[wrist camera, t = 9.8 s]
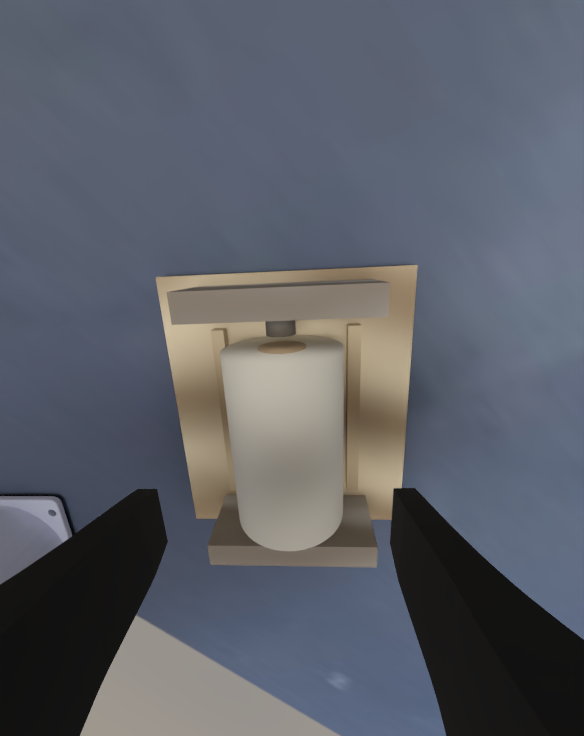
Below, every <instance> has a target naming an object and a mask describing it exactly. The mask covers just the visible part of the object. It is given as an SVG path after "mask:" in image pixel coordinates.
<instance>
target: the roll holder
mask: <svg viewBox="0 0 584 736" xmlns="http://www.w3.org/2000/svg"><path fill="white" fill-rule="evenodd" d="M417 266H418V265H403V266H382V267H361V268H339V269H318V270H297V271H275V272H254V273H233V274H212V275H190V276H169V277H156V283H157V289H158V295H159V301H160V307H161V312H162V318H163V324H164V330H165V336H166V342H167V348H168V354H169V360H170V366H171V371H172V377H173V383H174V389H175V395H176V401H177V407H178V413H179V419H180V425H181V431H182V436H183V442H184V448H185V454H186V460H187V466H188V472H189V478H190V484H191V490H192V495H193V501H194V507H195V513H196V519H217V521H216V524H215V526H214V529H213V532H212V534H211V537H210V540H209V543H208V545H207V546H208V552H209V559H210V565H257V566H324V567H377V551H378V547H377V543H376V538H375V534H374V530H373V526H372V522H371V519H382V520H392V505H393V489H394V488H402V476H403V462H404V448H405V434H406V420H407V406H408V392H409V378H410V364H411V350H412V336H413V322H414V308H415V294H416V280H417ZM293 335H311V336H320V337H326V338H331V339H334V340H337V341H339V342H341V343H342V344H343V346H344V434H343V517H342V521H341V523H340V525H339V527H338V529H337V530H336V531H335V533H334V534H333V535H332V536H331V537H329V538H328V539H327V540H325V541H324V542H322V543H320V544H319V545H316V546H314V547H312V548H308V549H305V550H299V551H278V550H272V549H269V548H266V547H264V546H261V545H259V544H258V543H256V542H254V541H253V540H252V539H251V538H249V537H248V535H247V534H246V533H245V532H244V530H243V528H242V526H241V523H240V519H239V511H238V502H237V494H236V485H235V477H234V468H233V460H232V452H231V443H230V435H229V426H228V418H227V410H226V401H225V393H224V384H223V376H222V367H221V359H220V351H221V350H222V349H223V348H225V347H226V346H228V345H231V344H233V343H236V342H240V341H243V340H248V339H253V338H259V337H266V336H268V337H289V336H293Z"/></svg>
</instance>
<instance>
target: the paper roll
mask: <svg viewBox="0 0 584 736" xmlns="http://www.w3.org/2000/svg"><path fill="white" fill-rule="evenodd" d="M220 359H221V367H222V376H223V384H224V393H225V401H226V410H227V418H228V426H229V435H230V443H231V452H232V460H233V468H234V477H235V485H236V494H237V502H238V511H239V519H240V523H241V526H242V528H243V530H244V532H245V533H246V534H247V535H248V537H249V538H251V539H252V540H253V541H254V542H256V543H258V544H259V545H261V546H264V547H266V548H269V549H272V550H278V551H299V550H305V549H308V548H312V547H314V546H316V545H319V544H320V543H322V542H324V541H325V540H327V539H328V538H329V537H331V536H332V535H333V534H334V533H335V531H336V530H337V529H338V527H339V525H340V523H341V521H342V517H343V434H344V346H343V344H342V343H341V342H339V341H337V340H334V339H331V338H326V337H320V336H311V335H293V336H289V337H268V336H266V337H259V338H253V339H248V340H243V341H240V342H236V343H233V344H231V345H228V346H226V347H225V348H223V349H222V350H221V351H220Z"/></svg>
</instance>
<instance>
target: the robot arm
mask: <svg viewBox="0 0 584 736" xmlns="http://www.w3.org/2000/svg"><path fill="white" fill-rule="evenodd" d="M167 542H168V540H167V536H166V531H165V526H164V521H163V516H162V512H161V507H160V502H159V497H158V492H157V489H137V490H136V491H134V492H133V493H131V494H130V495H128V496H127V497H125V498H124V499H123V500H121V501H120V502H118V503H117V504H116V505H114V506H113V507H111V508H110V509H109V510H107V511H106V512H105V513H103V514H102V515H101V516H99V517H98V518H96V519H95V520H94V521H92V522H91V523H89V524H88V525H87V526H85V527H84V528H83V529H81V530H80V531H78V532H77V533H76V534H74V535H73V536H72V533H71V530H70V527H69V523H68V520H67V517H66V514H65V511H64V508H63V505H62V502H61V500H60V499H59V498H57V497H54V496H0V736H80V733H81V731H82V729H83V726H84V724H85V721H86V719H87V717H88V714H89V712H90V710H91V707H92V705H93V702H94V700H95V697H96V695H97V693H98V690H99V688H100V686H101V684H102V682H103V680H104V677H105V675H106V673H107V671H108V669H109V667H110V665H111V663H112V661H113V659H114V657H115V655H116V653H117V651H118V649H119V647H120V645H121V643H122V641H123V639H124V637H125V635H126V633H127V631H128V629H129V627H130V625H131V623H132V621H133V620H134V617H135V616H136V614H137V612H138V610H139V608H140V606H141V604H142V602H143V600H144V598H145V596H146V594H147V592H148V590H149V588H150V585H151V583H152V581H153V579H154V577H155V575H156V572H157V569H158V567H159V564H160V562H161V559H162V556H163V553H164V550H165V548H166V545H167ZM390 545H391V549H392V554H393V559H394V563H395V568H396V572H397V576H398V581H399V584H400V587H401V590H402V593H403V596H404V599H405V602H406V605H407V608H408V611H409V614H410V617H411V620H412V623H413V626H414V629H415V632H416V635H417V638H418V641H419V644H420V647H421V650H422V653H423V656H424V659H425V662H426V665H427V668H428V671H429V674H430V677H431V681H432V684H433V687H434V691H435V694H436V697H437V701H438V704H439V708H440V712H441V716H442V720H443V724H444V728H445V731H446V735H447V736H584V640H583V639H582V638H581V637H579V636H578V635H577V634H575V633H574V632H573V631H571V630H570V629H569V628H567V627H566V626H565V625H563V624H562V623H561V622H560V621H558V620H557V619H556V618H555V617H553V616H552V615H551V614H549V613H548V612H547V611H546V610H544V609H543V608H542V607H541V606H539V605H538V604H537V603H536V602H534V601H533V600H532V599H531V598H529V597H528V596H527V595H526V594H525V593H523V592H522V591H521V590H520V589H519V588H517V587H516V586H515V585H514V584H513V583H512V582H510V581H509V580H508V579H507V578H506V577H505V576H504V575H503V574H501V573H500V572H499V571H498V570H497V569H496V568H495V567H494V566H492V565H491V564H490V563H489V562H488V561H487V560H486V559H485V558H484V557H483V556H482V555H480V554H479V553H478V552H477V551H476V550H475V549H474V548H473V547H472V546H471V545H470V544H469V543H468V542H467V541H466V540H465V539H464V538H463V537H462V536H461V535H460V534H459V533H458V532H457V531H456V530H455V529H454V528H453V527H452V526H451V525H450V524H449V523H448V522H447V521H446V520H445V519H444V518H443V517H442V516H441V515H440V514H439V513H438V512H437V511H436V510H435V509H434V508H433V507H432V506H431V505H430V504H429V502H428V501H427V500H426V499H425V498H424V497H423V496H422V495H421V494H420V493H419V492H418V491H417V490H416V489H415V488H394V489H393V505H392V521H391V538H390Z"/></svg>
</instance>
